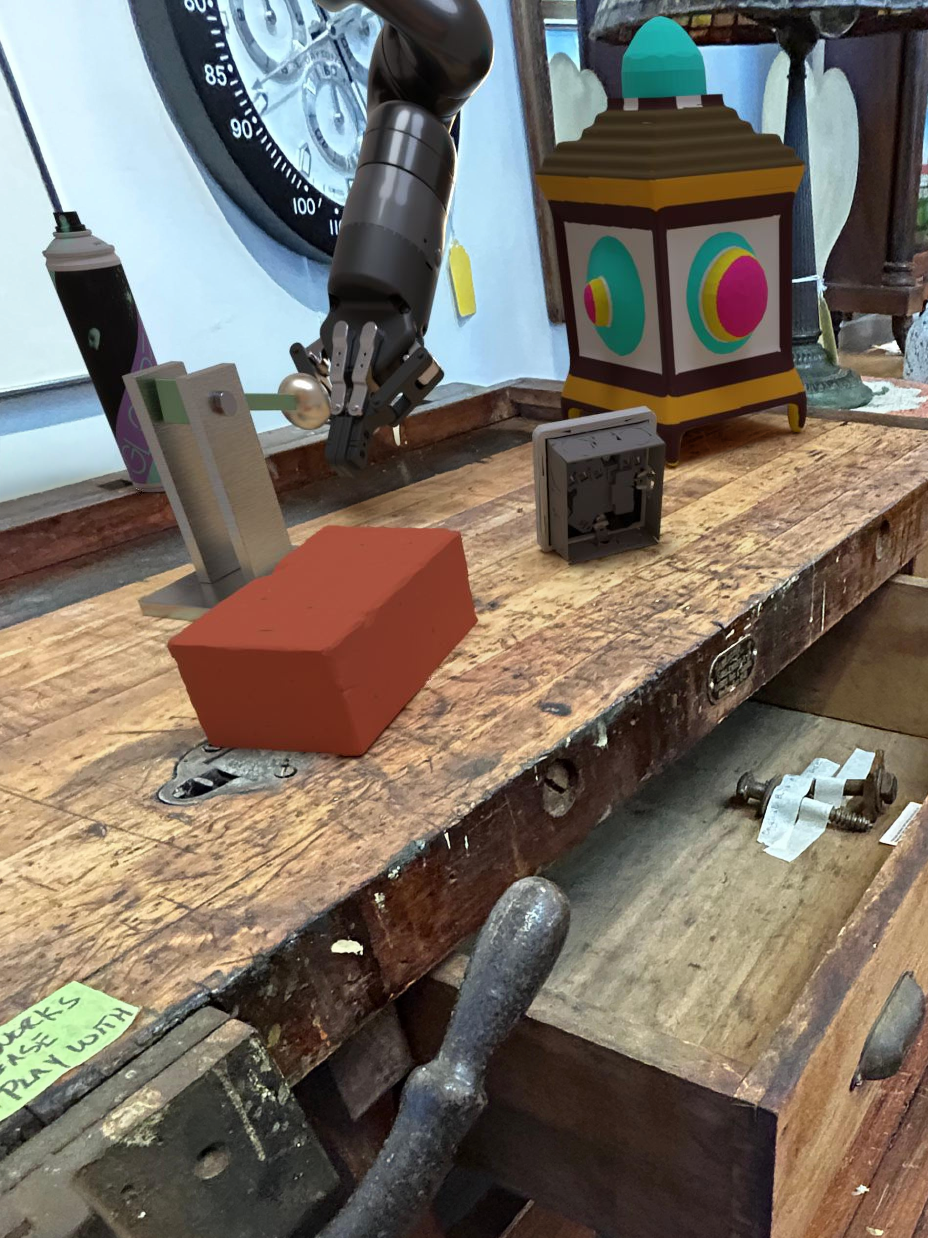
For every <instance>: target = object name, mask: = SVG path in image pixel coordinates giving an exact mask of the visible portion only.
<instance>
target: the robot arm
mask: <svg viewBox="0 0 928 1238" xmlns="http://www.w3.org/2000/svg"><path fill="white" fill-rule="evenodd" d="M312 1H313V2H315V4H317V5H318V6H319V7H320V8H322V9H323V10H325V11H327V12H330V13H338V12H341V11H343V10H345V9H347V8H348V7H349V6H350V7H351V5H356V4H357V5H360V6H362V7H364V8H365V9H367V10H368V11H370V12H372V13H373V14H375V15H376V16H378V17H379V18H380V19H382V20H383V21H385V22H384V24H383V26H382V27H381V29H380V31H379V33H378V35H377V38H376V39H375V43H374V46H373V49H372V52H371V56H370V61H369V66H368V72H367V85H366V86H367V87H366V126H365V130H364V133H363V136H362V140H361V143H360V150H359V154H358V158H357V163H356V168H355V172H354V177H353V181H352V183H351V186H350V189H349V190H348V193H347V196H346V199H345V202H344V207H343V211H342V216H341V220H340V223H339V224H340V225H339V229H338V233H337V238H336V243H335V247H334V252H333V257H332V261H331V265H330V270H329V275H328V279H327V286H326V287H327V296H328V297H327V298H328V305H329V310H328V313H327V315H326V317H325V318H324V320H323V321H322V323H321V324H320V327H319V337H318V338H317V339H316V340H314V342H311V343H310V344H309V345H308V346H306V347H305V346H304V345H303V344H302V343H301V342H298V341H297V342H294V343H292V344H291V346H290V347H289V350H288V351H289V356H290V357H291V359H292V362H293V364H294V366H295V368H296V372H297V373H305V374H308V375H311V376H313V377H315V378H316V379H317V380H319V381H320V382H321V383H322V384H323V385H324V387H325V388H326V390H327V392H328V394H329V396H330V399H331V414H330V417H329V419H328V420H329V421H330V424H329V428H328V434H327V439H326V443H325V448H324V457H325V460H326V462H327V464H328V467H329V468H331V470H333V471H334V472H335V473H336V474H337V475H338V476H339V477H343V478H357V479H358V478H359V477H360V476H361V473H362V471H364V470H365V468H366V467H367V464H368V460H369V456H370V451H371V446H372V441H373V437H374V435H375V434H377V433H378V432H379V431H380V429H381V427H384V426H386V425H388V426H389V427H390V428H393V429H395V428H397V427H399V426H400V425H401V424H402V422H404V420H405V419H406V418H407V417H409V415H410V414H411V413H412V412H413V411H414V410H415V409H416V408H417V407H418V406H419V405H420V404H421V403H422V402H423V400H425V398H427V396H428V395H430V393H431V392H432V391H433V390H434V389H435V388H436V387H437V386H438V385H439V384H440V383H441V382H442V381H443V379H444V377H445V370H444V369H443V367H441V366H440V363H439V362H438V361H437V360H436V358H435V357H434V356H433V354H432V353H431V352H430V351H429V350H428V349H427V348H426V347H425V338H424V337H425V336H426V334H427V333H428V328H429V325H430V320H431V315H432V309H433V306H434V302H435V301H434V300H435V295H436V291H437V287H438V282H439V277H440V273H441V268H442V264H443V260H444V253H445V245H446V229H447V224H448V218H449V214H450V209H451V204H452V200H453V195H454V194H453V193H454V192H455V191H454V190H455V185H456V179H457V173H458V154H457V150H456V145H455V143H454V139H453V137H452V136H451V134H450V133H451V131H452V130H451V129H452V127H453V124H454V121H455V119H456V117H457V114H458V113H459V112H460V111H461V109H462V108H463V107H464V106H465V105H466V104H467V102H468V101H469V100H470V99H471V98H472V96H473V95H474V94H475V93H476V92H477V90H478V89H479V88H480V87H481V86H482V84H483V83H484V82H485V80H486V79H487V78H488V76H489V74H490V72H491V69H492V67H493V63H494V60H495V43H494V37H493V34H492V29H491V25H490V23H489V20H488V18H487V15H486V14H485V11H484V10H483V8H482V6H481V4H480V1H478V0H312ZM329 362H330V363H329ZM329 364H330V365H329ZM328 377H329V378H328ZM400 394H402V395H401V397H399V398H398V399H397V400H396V401H395V403H394V404H393V405H392V403H393V401H394V400H395V399H396V398H397V397H398V396H399V395H400Z"/></svg>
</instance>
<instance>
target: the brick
mask: <svg viewBox="0 0 928 1238" xmlns="http://www.w3.org/2000/svg"><path fill="white" fill-rule="evenodd" d="M298 546H299V547H298V548H296V549H295V550H293V551H292V552H290V553H289V554H288V555H287V556H285V557H284V558H283V559H282V560H281V561H280V562H279V563H278V564H277V565H276V567H275V568H274V571H273V574H271V575H269V576H265V577H261V578H256V579H254V580H253V581H251V582H250V583H249V584H247V585H245V586H244V587H243V588H241V589H239V590H238V591H237V592H235V593H234V594H232V595H231V596H230V597H228V598H226V599H225V600H223V601H222V602H220V603H219V604H218V605H216V606H215V607H214V608H212V609H211V610H209V611H208V612H207V613H205V614H204V615H202V616H201V617H200V618H198V619H197V620H196V621H192V622H191V623H189V625H186V627H184V628H183V629H182V630H181V631H180V632H179V633H176V634H175V635H173V636H172V637H170V639H168V640H167V643H166V645H167V646H166V647H167V651H168V652H169V654H170V656H171V658H172V659H174V661H175V662H176V663H177V670H178V672H179V675H180V678H181V680H182V682H183V684H184V686H185V690H186V693H187V695H188V697H189V702H190V704H191V707H192V708H193V709H194V712H195V714H196V717H197V720H198V723H199V725H200V727H201V728H202V730H203V732H204V734H205V737H206V739H207V742H208V744H210V745H211V746H213V747H215V748H230V749H246V750H247V749H248V750H264V751H265V750H266V751H284V752H285V751H289V752H299V753H321V754H336V755H340V756H342V757H351V756H356V757H357V756H361V755H363V754H365V753H366V752H367V751H368V750H369V748H370V747H371V746H372V745H373V743H374V742H375V741H376V740H377V738H378V737H379V735H380V734H382V732H383V731H385V729H386V728H387V727H388V725H389V724H391V723H392V721H393V720H394V719H395V717H396V716H397V715H398V714H399V713H400V711H401V710H403V708H404V707H405V706H406V705H407V704H408V702H409V701H410V700H411V699H412V698H413V696H414V695H415V694H416V693H417V692H418V691H419V690H420V689H421V688H422V687H424V685H426V683H428V681H429V679H430V678H431V676H433V673H435V672H436V670H437V669H438V668H439V666H441V664H442V663H443V662H444V661H445V660H446V659H447V658H448V657H449V655H450V654H451V653H452V652H453V650H455V648H456V647H457V646H458V645H459V644H460V643H461V642H462V641H463V639H464V638H465V637H466V636H467V635H468V634H469V632H470V631H471V630H472V629H473V628H474V627H475V626H476V625H477V624H478V622H479V618H478V616H477V614H476V609H475V607H476V605H475V602H474V597H473V594H472V590H471V585H470V580H469V569H468V562H467V558H466V553H465V547H464V543H463V538H462V533H461V531H459V530H451V529H450V530H449V529H447V528H445V527H388V526H369V525H367V526H347V525H339V524H337V525H336V524H330V525H325V526H323V527H322V528H320V529H319V530H317V531H316V532H315V533H314V534H312V535H310V537H309V538H307V539H306V540H305V541H303V543H302V544H301V545H298Z"/></svg>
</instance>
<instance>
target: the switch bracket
mask: <svg viewBox="0 0 928 1238" xmlns="http://www.w3.org/2000/svg"><path fill="white" fill-rule="evenodd" d="M122 378H123V381H124V383H125V386H126V388H127V391H128V394H129V396H130V399H131V402H132V404H133V407H134V410H135V412H136V415H137V418H138V420H139V423H140V425H141V428H142V431H143V433H144V436H145V439H146V441H147V444H148V447H149V449H150V452H151V454H152V457H153V460H154V462H155V465H156V468H157V470H158V473H159V476H160V478H161V481H162V483H163V486H164V489H165V491H164V492H165V495H166V497H167V499H168V502H169V505H170V507H171V509H172V513H173V515H174V517H175V520H176V524H177V526H178V528H179V531H180V534H181V536H182V540H183V541H184V544H185V546H186V550H187V553H188V555H189V557H190V559H191V563H192V566H193V567H194V571H192V572H191V573H188V574H186V575H184V576H182V577H181V578H179V579H177V580H175V581H173V582H170V583H169V584H167V585H165V586H163V587H161V588H159V589H157V590H156V591H154V592H152V593H150V594H148V595H146V596H144V597H142V598H140V599H139V600H137V603H138V605H139V608H140V610H141V612H142V615H143V616H147V617H156V618H164V619H173V620H181V621H188V622H189V621H191V622H194V621H196V620H197V619H198V618H200V617H201V616H202V615H204V614H205V613H207V612H208V611H209V610H211V609H212V608H214V607H215V606H216V605H218V604H219V603H220V602H222V601H223V600H225V599H226V598H228V597H230V596H231V595H232V594H234V593H235V592H237V591H238V590H239V589H241V588H243V587H244V586H245V585H247V584H249V583H250V582H251V581H253V580H254V579H256V578H261V577H265V576H269V575H271V574H273V571H274V568H275V567H276V565H277V564H278V563H279V562H280V561H281V560H282V559H283V558H284V557H285V556H287V555H288V554H289V553H290V552H292V551H293V550H295V549H296V548H298V547H299V546H300V545H295V544H292V541H291V538H290V535H289V531H288V529H287V526H286V521H285V519H284V516H283V513H282V509H281V506H280V503H279V499H278V496H277V493H276V490H275V487H274V483H273V480H272V477H271V474H270V471H269V468H268V463H267V461H266V457H265V455H264V451H263V449H262V448H263V447H262V445H261V442H260V439H259V436H258V433H257V430H256V426H255V422H254V420H253V417H252V413H251V411H250V410H249V406H248V403H247V400H246V397H245V394H244V393H245V391H244V388H243V384H242V381H241V377H240V375H239V372H238V368H237V364H236V363H235V362H221V363H218V364H214V365H212V366H208V367H205V368H202V369H199V370H196V371H192V372H190V373H188V371H187V368H186V365H185V363H184V361H181V360H180V361H179V360H170V361H166V362H164V363H163V362H162V363H159V364H158V365H156V366H153V367H150V368H147V369H143V370H140V371H137V372H133V373H130V374H127V375H123V376H122ZM155 379H175V381H176V384H177V387H178V390H179V393H180V396H181V399H182V401H183V404H184V407H185V410H186V413H187V416H188V419H189V422H190V424H191V425H190V424H173V423H165V422H164V419H163V414H162V410H161V405H160V401H159V396H158V391H157V387H156V382H155Z"/></svg>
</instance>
